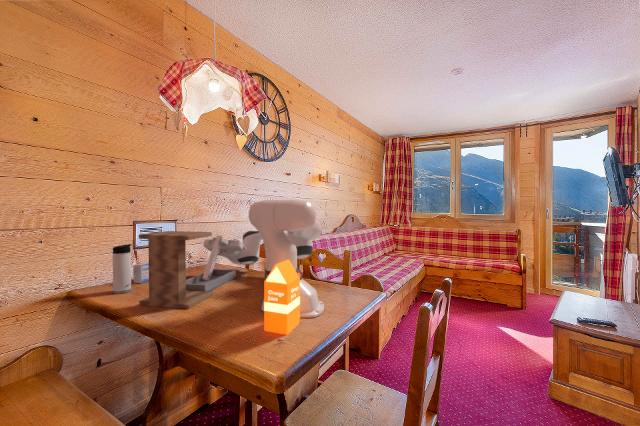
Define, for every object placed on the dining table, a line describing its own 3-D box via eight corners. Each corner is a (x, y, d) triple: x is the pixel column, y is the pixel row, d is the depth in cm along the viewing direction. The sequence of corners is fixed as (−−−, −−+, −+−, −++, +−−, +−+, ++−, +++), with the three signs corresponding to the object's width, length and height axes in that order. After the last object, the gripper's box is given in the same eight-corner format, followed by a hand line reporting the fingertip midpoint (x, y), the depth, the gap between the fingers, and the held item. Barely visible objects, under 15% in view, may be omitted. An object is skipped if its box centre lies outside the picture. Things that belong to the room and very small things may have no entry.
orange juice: (300, 322, 88) (300, 259, 87) (287, 335, 80) (287, 265, 79) (278, 319, 90) (278, 258, 90) (263, 330, 82) (263, 263, 82)
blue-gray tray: (235, 277, 143) (235, 270, 143) (205, 294, 115) (205, 285, 115) (213, 276, 145) (213, 268, 145) (177, 292, 118) (177, 283, 117)
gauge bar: (223, 237, 140) (221, 235, 138) (209, 280, 128) (207, 278, 126) (218, 237, 140) (216, 235, 138) (204, 279, 128) (202, 278, 126)
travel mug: (132, 292, 118) (131, 244, 117) (112, 294, 114) (112, 246, 114) (132, 288, 123) (131, 243, 122) (113, 290, 119) (112, 244, 119)
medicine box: (141, 283, 131) (141, 265, 130) (133, 283, 131) (133, 264, 131) (154, 279, 138) (154, 261, 138) (146, 278, 139) (146, 261, 139)
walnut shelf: (212, 295, 114) (211, 232, 113) (188, 308, 99) (188, 235, 98) (168, 292, 117) (167, 231, 116) (139, 305, 102) (138, 234, 102)
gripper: (246, 255, 145) (235, 245, 133) (210, 254, 148) (196, 244, 136) (248, 244, 148) (238, 233, 136) (213, 243, 151) (200, 232, 139)
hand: (217, 238), depth 136 cm, fingers closed on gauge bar, 2 cm apart
